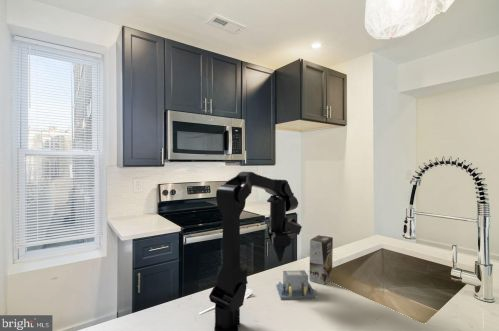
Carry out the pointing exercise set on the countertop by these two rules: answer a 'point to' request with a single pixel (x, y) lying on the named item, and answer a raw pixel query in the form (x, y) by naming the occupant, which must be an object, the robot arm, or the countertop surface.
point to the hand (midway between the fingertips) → (277, 256)
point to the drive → (295, 281)
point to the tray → (295, 295)
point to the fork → (244, 298)
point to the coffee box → (321, 259)
